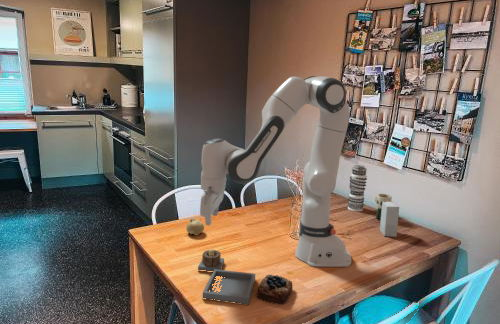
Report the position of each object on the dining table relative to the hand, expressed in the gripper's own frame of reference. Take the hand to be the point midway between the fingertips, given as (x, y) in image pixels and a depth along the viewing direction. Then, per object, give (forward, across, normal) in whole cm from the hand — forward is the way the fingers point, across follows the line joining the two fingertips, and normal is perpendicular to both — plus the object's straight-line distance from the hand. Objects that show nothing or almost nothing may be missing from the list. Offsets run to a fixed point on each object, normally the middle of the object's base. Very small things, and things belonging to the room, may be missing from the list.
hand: (211, 219), depth 133 cm
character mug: (+17, +68, -75) cm, 103 cm away
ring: (+17, 0, 0) cm, 17 cm away
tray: (+19, -13, -11) cm, 25 cm away
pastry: (+19, -12, -26) cm, 34 cm away
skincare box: (+17, +49, -74) cm, 91 cm away
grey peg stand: (+19, 0, -1) cm, 19 cm away
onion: (+20, +28, +14) cm, 37 cm away
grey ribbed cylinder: (+17, +81, -63) cm, 104 cm away
